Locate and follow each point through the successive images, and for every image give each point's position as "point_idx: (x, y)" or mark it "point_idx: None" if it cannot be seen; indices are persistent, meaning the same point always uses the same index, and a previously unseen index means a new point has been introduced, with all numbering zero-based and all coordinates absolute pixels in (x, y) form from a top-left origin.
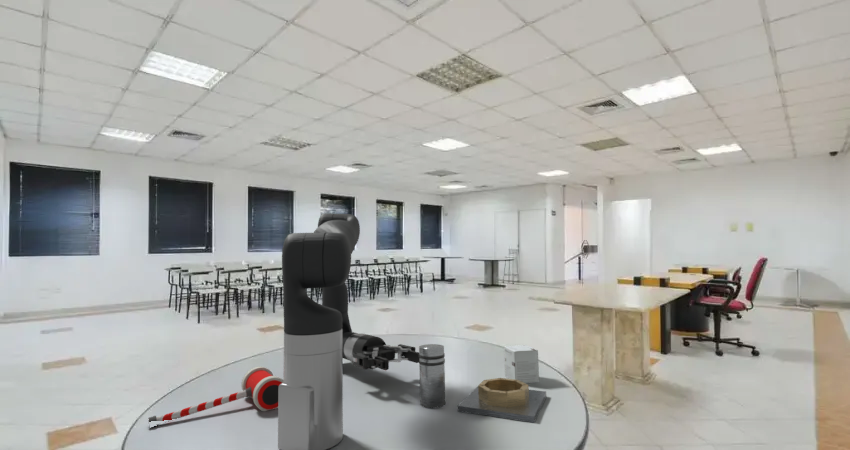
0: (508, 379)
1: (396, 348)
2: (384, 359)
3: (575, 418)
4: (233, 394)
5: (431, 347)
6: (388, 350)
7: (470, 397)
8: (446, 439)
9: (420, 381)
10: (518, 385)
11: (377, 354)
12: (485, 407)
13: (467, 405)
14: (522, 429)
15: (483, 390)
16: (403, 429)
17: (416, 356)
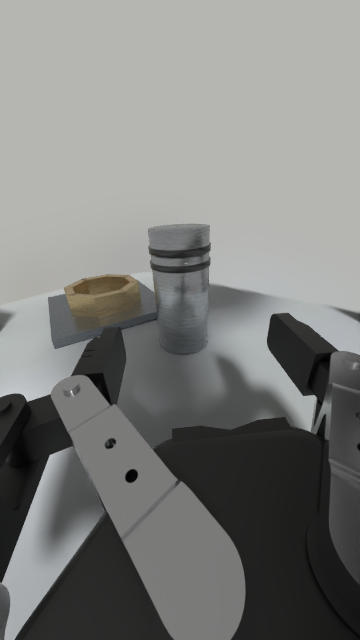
0: (69, 290)
1: (130, 427)
2: (289, 314)
3: None
4: None
5: (183, 226)
6: (201, 465)
7: (133, 314)
8: (230, 289)
9: (208, 301)
10: (80, 287)
11: (328, 382)
12: (150, 296)
13: None
14: None
15: (133, 288)
16: (267, 308)
17: (120, 340)
